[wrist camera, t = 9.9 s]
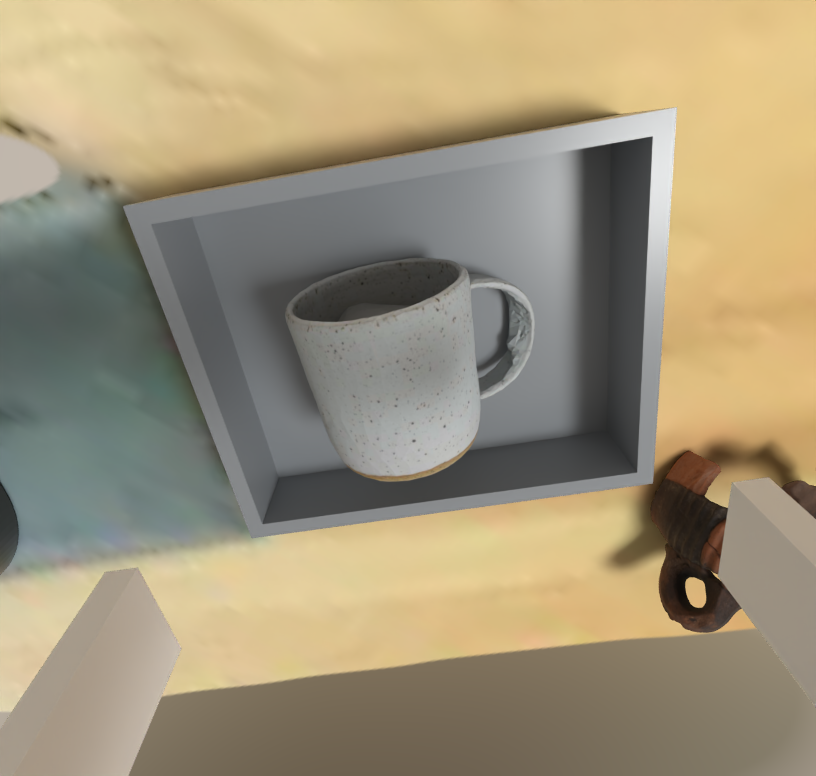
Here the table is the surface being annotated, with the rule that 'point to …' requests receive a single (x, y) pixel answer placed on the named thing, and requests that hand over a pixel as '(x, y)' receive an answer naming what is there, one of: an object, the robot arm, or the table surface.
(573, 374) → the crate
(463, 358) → the ceramic mug
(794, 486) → the brown clay vessel
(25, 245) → the table surface
